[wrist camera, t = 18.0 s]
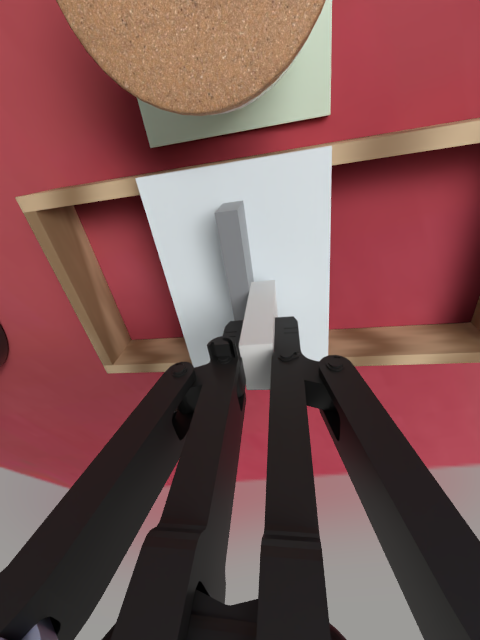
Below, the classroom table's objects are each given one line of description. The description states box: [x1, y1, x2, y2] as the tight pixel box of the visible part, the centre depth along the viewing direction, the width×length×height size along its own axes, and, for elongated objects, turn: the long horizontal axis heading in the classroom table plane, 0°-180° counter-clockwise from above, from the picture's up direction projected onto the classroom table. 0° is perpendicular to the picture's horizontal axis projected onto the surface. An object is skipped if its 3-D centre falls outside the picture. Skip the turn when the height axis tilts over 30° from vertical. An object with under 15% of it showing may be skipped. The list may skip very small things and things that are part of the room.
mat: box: [137, 0, 332, 148], centre depth 16 cm, size 12×12×1 cm
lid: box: [135, 146, 332, 368], centre depth 19 cm, size 11×16×3 cm
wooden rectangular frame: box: [15, 118, 480, 373], centre depth 22 cm, size 34×16×4 cm, turn 99°
